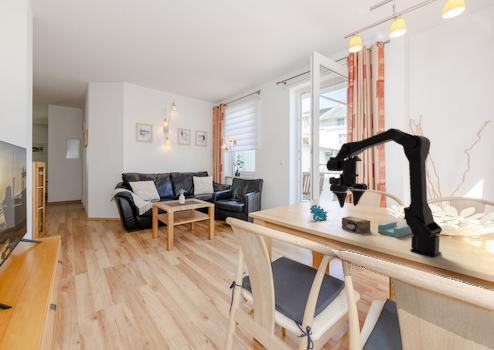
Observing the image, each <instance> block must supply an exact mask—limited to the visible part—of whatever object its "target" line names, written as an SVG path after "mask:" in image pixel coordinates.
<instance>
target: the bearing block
mask: <svg viewBox="0 0 494 350" xmlns="http://www.w3.org/2000/svg"><path fill="white" fill-rule="evenodd" d="M353 223H356V230H355V231H356V232H357V233H361V234H364V233H368V232H371V220H368V219H364V218H359V217H354V216H351V215H350V216H344V217H341V228H343V229H346V230H347V228H346V226H347V225H348V224H353Z"/></svg>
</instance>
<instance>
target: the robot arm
mask: <svg viewBox="0 0 494 350" xmlns="http://www.w3.org/2000/svg"><path fill="white" fill-rule="evenodd" d="M389 142H394V143H396V144H398V145H399V146H402V148H403V153H404V155H405V157H406V159H407V161H408V168H409V169H408V172H409V173H408V175H409V193H410V198H409V199H410V202H409V205H408V206H406V207H404V208H403V213H404V217H403V220H405V224H406V225H408V226H409V227H410V229H411V231H412V233H411V234H412V236H411V243H410V247H411V248H410V251H411V252H412V253H413V252H414V253H416V254H420V255H423V256H426V257H430V258H435V257H437V256H439V255H440V254H442V251H440V234H441V233H442V231H443V228H442V227H441V226H440V225H439V224H438V223H437V222H436V221H435V220H434V215H433V212H432V209H431V207H430V206H429V203H428V193H427V192H428V190H427V169H426V163H427V162H426V161H427V158H428V156H429V154H430V148H431V140H430V139H429V138H428V137H426V136H424V135H423V136H422V135H417V134H416V135H415V134H411V133H408V132H405V131H403V130H400V129H398V128H393V127H392V128H388V129H387V130H385V131H382V132H380V133H377V134H374V135H371V136H369V137H366V138H364V139H362V140H361V139H360V140H358V141H351V142H345V143H342V145H341V147H340V149H339V151H338V152H337V153H336V155H335V156H329V159H328V160H327V162H326V169H327V171H328V172H342V173H340V174H339V177H335V176H331V177H329V180H328V184H329V185H330V186H329V191H331V193H333V194H334V195H335V196H336V198H337V201H338V204H339V207H340V208H341V209H342V208H344V207H345V203H346V199H347V196H348V192H347V191H348V190H350V192H351V193H352V204H353V206H356V207H357V205H358V204H359V202H360V200H361V198H362V196H363V195H364V193H366V191H367V190H368V185H367V183H360V182H357V177H359V174H358V173H357V167H358V166H357V165H358V164H357V163H358V162H362V161H363V160H362V159H361V158H360V157H359V155H360V154H362V153H363V152H364V151H366V150H368V149H371V148H374V147H377V146H381V145H384V144H386V143H389Z"/></svg>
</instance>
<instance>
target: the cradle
mask: <svg viewBox="0 0 494 350" xmlns="http://www.w3.org/2000/svg"><path fill="white" fill-rule="evenodd" d="M397 223H398V222H397V221H394V220H392V221H387V222H383V223H379V224H377V233H379V234H382V235H386V236H391V237H395V238H401V237H403V236H407V235H410V234H412V231H411V229H410V227H409V226H408V225H407V224H403V225H400V226H398V225H397Z"/></svg>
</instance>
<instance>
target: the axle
mask: <svg viewBox="0 0 494 350" xmlns="http://www.w3.org/2000/svg"><path fill="white" fill-rule="evenodd" d="M346 228H347V229H346ZM346 228H345V229H346V230H347V231H349V232H352V231H356V223H353V224H348V225H347V226H346Z"/></svg>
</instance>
